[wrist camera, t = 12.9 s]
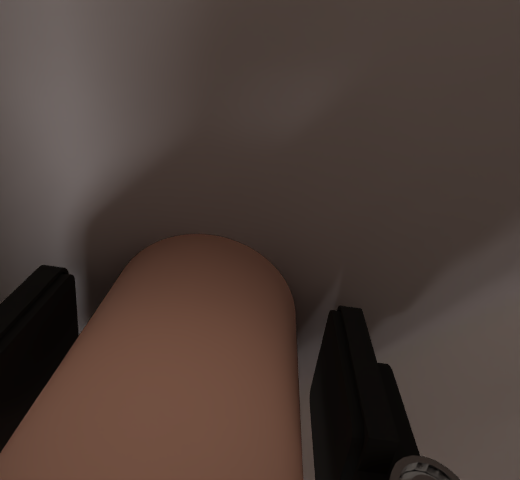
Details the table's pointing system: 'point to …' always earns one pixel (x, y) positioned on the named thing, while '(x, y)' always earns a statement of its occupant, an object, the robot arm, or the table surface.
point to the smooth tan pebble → (174, 376)
